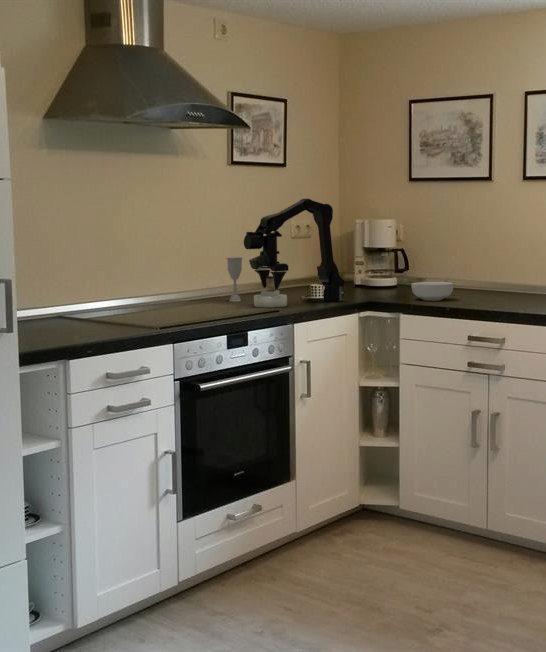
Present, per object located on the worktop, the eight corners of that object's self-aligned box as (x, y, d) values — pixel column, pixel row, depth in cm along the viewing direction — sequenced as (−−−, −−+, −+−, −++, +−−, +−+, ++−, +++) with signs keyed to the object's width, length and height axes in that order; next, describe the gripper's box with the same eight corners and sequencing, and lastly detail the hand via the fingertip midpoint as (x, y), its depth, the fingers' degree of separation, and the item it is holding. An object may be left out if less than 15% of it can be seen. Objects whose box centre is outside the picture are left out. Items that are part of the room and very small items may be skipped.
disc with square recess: (291, 304, 382) (291, 289, 381) (280, 307, 370) (280, 292, 369) (260, 303, 386) (260, 289, 385) (249, 306, 374) (249, 292, 373)
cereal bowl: (457, 298, 398) (457, 281, 397) (447, 302, 383) (447, 284, 382) (417, 297, 405) (417, 280, 405) (406, 301, 390) (406, 283, 390)
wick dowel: (275, 295, 378) (275, 276, 377) (272, 295, 376) (272, 276, 375) (268, 295, 379) (267, 276, 379) (265, 295, 377) (265, 276, 376)
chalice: (241, 301, 395) (240, 258, 393) (225, 301, 396) (224, 258, 394) (245, 300, 402) (244, 257, 400) (229, 299, 403) (228, 257, 401)
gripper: (240, 248, 379) (241, 287, 381) (263, 250, 363) (264, 291, 365) (264, 247, 385) (265, 286, 387) (289, 249, 369) (289, 289, 371)
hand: (270, 288), depth 377 cm, fingers open, 9 cm apart
